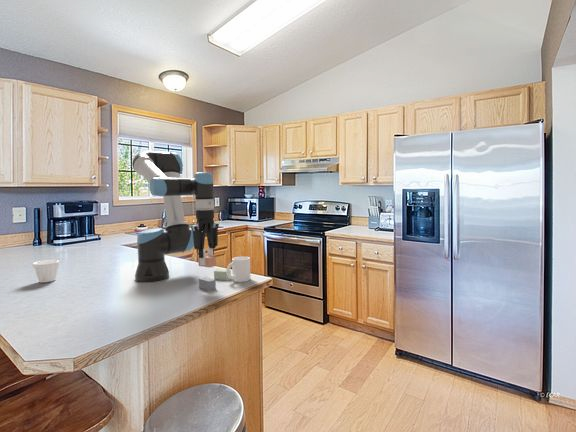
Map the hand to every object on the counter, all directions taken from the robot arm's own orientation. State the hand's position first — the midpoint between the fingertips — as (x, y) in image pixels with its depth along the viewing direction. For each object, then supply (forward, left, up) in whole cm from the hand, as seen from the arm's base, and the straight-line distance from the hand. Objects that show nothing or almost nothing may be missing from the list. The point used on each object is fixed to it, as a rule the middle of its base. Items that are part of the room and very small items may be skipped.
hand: (206, 264), depth 136 cm
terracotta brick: (0, 0, -1) cm, 1 cm away
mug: (+4, +15, -11) cm, 19 cm away
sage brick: (-5, +14, -11) cm, 18 cm away
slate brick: (0, 0, -11) cm, 11 cm away
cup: (-72, -33, -11) cm, 80 cm away
